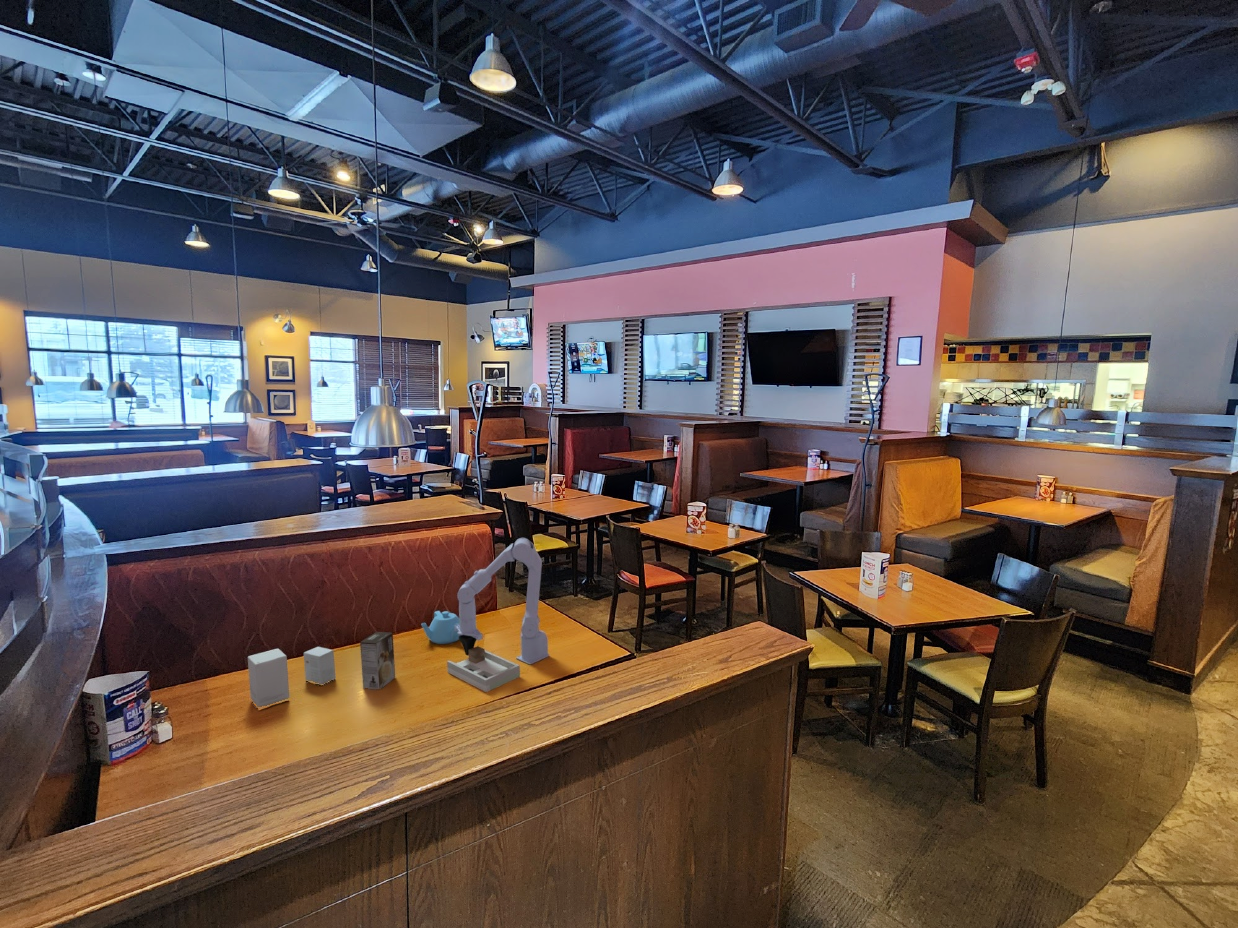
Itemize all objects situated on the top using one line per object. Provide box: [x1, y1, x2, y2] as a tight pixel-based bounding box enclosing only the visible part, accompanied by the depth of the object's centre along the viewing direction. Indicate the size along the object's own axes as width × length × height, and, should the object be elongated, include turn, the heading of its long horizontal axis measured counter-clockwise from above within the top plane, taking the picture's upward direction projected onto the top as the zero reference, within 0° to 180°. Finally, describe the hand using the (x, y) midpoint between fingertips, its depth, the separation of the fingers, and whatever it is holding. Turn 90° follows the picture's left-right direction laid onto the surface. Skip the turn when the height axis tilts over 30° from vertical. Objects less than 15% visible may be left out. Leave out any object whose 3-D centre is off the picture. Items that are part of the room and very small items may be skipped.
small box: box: [303, 646, 337, 684], centre depth 195 cm, size 8×6×10 cm
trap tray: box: [446, 650, 521, 693], centre depth 198 cm, size 14×22×4 cm, turn 49°
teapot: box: [420, 610, 460, 645], centre depth 230 cm, size 15×15×11 cm
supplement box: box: [247, 648, 290, 707], centre depth 181 cm, size 9×9×15 cm
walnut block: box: [468, 645, 485, 664], centre depth 205 cm, size 4×4×4 cm
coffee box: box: [359, 631, 396, 690], centre depth 193 cm, size 9×6×16 cm
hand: (469, 654), depth 208 cm, fingers closed
